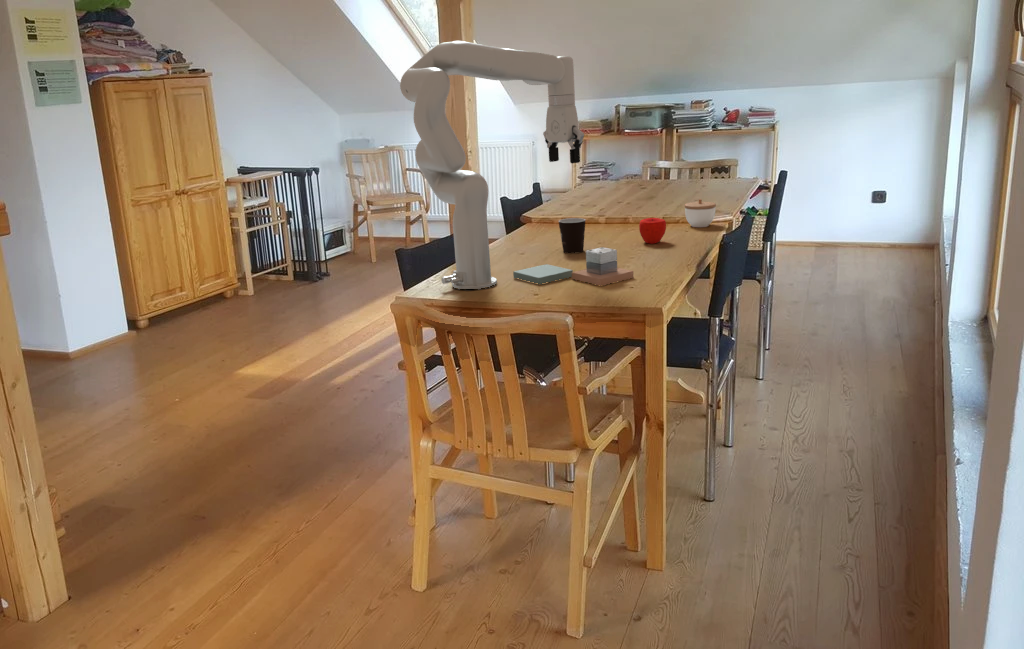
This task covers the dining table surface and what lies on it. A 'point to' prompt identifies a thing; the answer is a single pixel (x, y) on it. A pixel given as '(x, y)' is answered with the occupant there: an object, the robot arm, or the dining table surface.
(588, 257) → the housing
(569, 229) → the coffee mug
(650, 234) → the apple
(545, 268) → the stand
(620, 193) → the dining table surface
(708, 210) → the lidded jar
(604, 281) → the stand
